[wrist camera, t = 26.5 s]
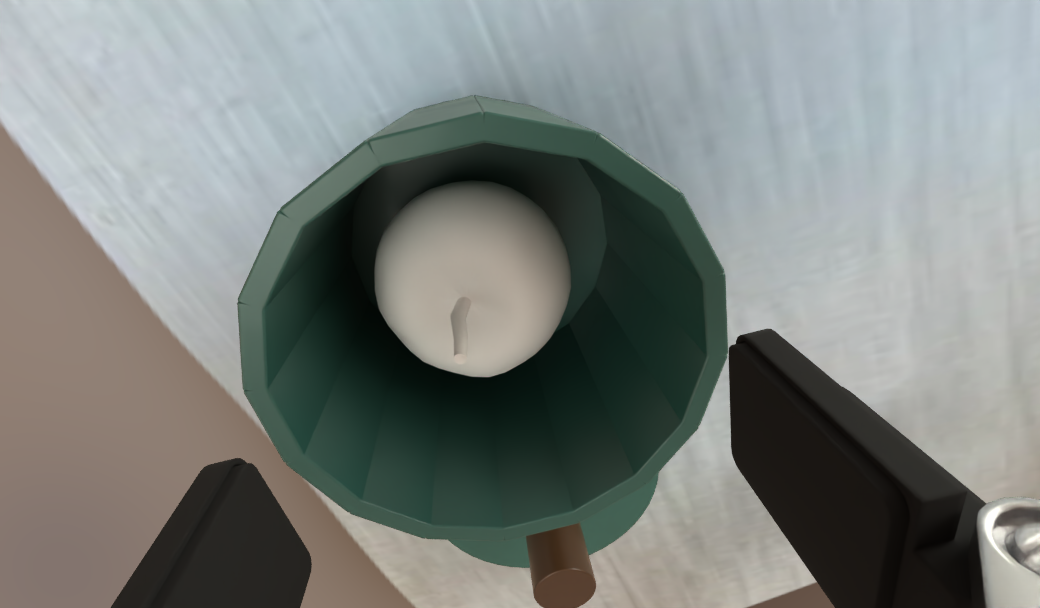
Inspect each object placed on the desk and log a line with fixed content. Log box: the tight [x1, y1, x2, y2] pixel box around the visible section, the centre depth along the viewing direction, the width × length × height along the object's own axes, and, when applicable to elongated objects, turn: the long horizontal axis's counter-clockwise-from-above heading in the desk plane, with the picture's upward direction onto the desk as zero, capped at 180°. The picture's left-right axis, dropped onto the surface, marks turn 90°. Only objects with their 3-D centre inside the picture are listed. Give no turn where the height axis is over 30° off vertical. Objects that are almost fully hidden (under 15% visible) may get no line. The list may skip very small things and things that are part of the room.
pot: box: [237, 95, 728, 541], centre depth 17 cm, size 12×12×10 cm
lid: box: [449, 472, 659, 608], centre depth 25 cm, size 13×13×7 cm
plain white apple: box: [374, 180, 571, 377], centre depth 17 cm, size 7×7×8 cm
